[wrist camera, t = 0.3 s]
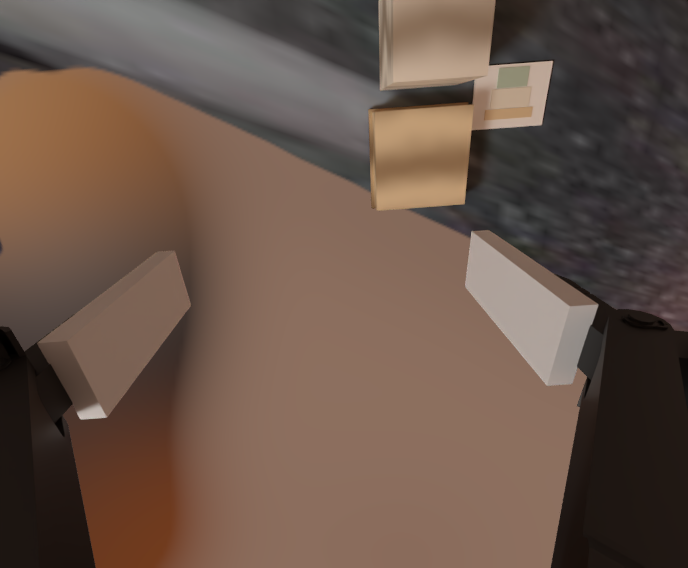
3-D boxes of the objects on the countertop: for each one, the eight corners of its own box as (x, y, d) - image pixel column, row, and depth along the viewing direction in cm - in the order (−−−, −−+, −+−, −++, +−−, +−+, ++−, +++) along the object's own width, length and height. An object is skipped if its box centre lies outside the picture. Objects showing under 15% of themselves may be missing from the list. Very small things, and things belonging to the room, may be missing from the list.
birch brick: (378, -7, 31) (393, -45, 24) (461, -12, 32) (501, -52, 24) (379, 90, 35) (393, 82, 28) (455, 85, 35) (487, 75, 28)
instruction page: (475, 66, 34) (476, 66, 34) (551, 61, 34) (553, 60, 34) (469, 130, 37) (470, 130, 37) (540, 125, 37) (542, 125, 37)
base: (368, 109, 36) (371, 108, 33) (466, 102, 36) (477, 100, 33) (371, 207, 40) (374, 213, 38) (457, 200, 40) (466, 206, 38)
